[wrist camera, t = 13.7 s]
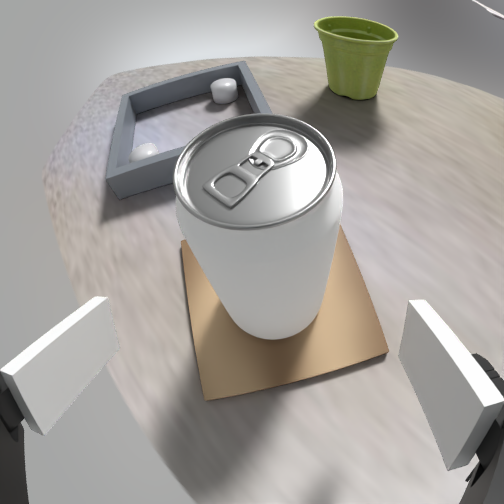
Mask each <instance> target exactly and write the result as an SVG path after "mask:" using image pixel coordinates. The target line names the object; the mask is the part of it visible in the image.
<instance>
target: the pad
mask: <svg viewBox="0 0 504 504" xmlns="http://www.w3.org/2000/svg"><path fill="white" fill-rule="evenodd" d="M181 247H182V256H183V265H184V274H185V282H186V289H187V297H188V304H189V312H190V319H191V325H192V332H193V338H194V345H195V351H196V357H197V363H198V368H199V374H200V380H201V385H202V391H203V396H204V401H208V400H214V399H220V398H226V397H231V396H236V395H241V394H246V393H251V392H255V391H260V390H264V389H269V388H273V387H277V386H281V385H285V384H289V383H293V382H297V381H301V380H304V379H308V378H311V377H315V376H319V375H322V374H325V373H329V372H332V371H335V370H338V369H342V368H345V367H348V366H351V365H354V364H357V363H360V362H363V361H366V360H369V359H372V358H374V357H377V356H380V355H383V354H385V353H388V352H389V349H388V346H387V343H386V340H385V337H384V334H383V331H382V328H381V325H380V323H379V320H378V317H377V314H376V312H375V309H374V306H373V303H372V301H371V298H370V295H369V293H368V290H367V288H366V285H365V282H364V280H363V277H362V275H361V272H360V270H359V267H358V265H357V263H356V260H355V258H354V255H353V253H352V250H351V248H350V246H349V243H348V241H347V239H346V236H345V234H344V232H343V230H342V227H341V225H340V226H339V231H338V236H337V241H336V246H335V251H334V255H333V260H332V264H331V269H330V273H329V277H328V281H327V285H326V289H325V293H324V297H323V301H322V304H321V307H320V309H319V312H318V313H317V315H316V317H315V318H314V320H313V321H312V322H311V323H310V324H309V325H308V326H307V327H306V328H305V329H304V330H302V331H301V332H299V333H297V334H295V335H293V336H290V337H287V338H283V339H275V340H270V339H262V338H258V337H255V336H253V335H250V334H249V333H247V332H245V331H244V330H242V329H241V328H240V327H239V326H238V325H237V324H236V323H235V322H234V321H233V319H232V318H231V316H230V315H229V313H228V312H227V310H226V309H225V307H224V305H223V304H222V302H221V300H220V299H219V297H218V295H217V294H216V292H215V290H214V289H213V287H212V285H211V284H210V282H209V280H208V279H207V277H206V275H205V273H204V272H203V270H202V268H201V266H200V265H199V263H198V261H197V259H196V258H195V256H194V254H193V252H192V250H191V248H190V247H189V245H188V243H187V241H186V240H182V241H181Z"/></svg>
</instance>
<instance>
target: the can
mask: <svg viewBox="0 0 504 504" xmlns="http://www.w3.org/2000/svg"><path fill="white" fill-rule="evenodd" d="M173 186H174V190H175V193H176V215H177V220H178V223H179V226H180V228H181V231H182V233H183V235H184V237H185V239H186V241H187V243H188V245H189V247H190V248H191V250H192V252H193V254H194V256H195V258H196V259H197V261H198V263H199V265H200V266H201V268H202V270H203V272H204V273H205V275H206V277H207V279H208V280H209V282H210V284H211V285H212V287H213V289H214V290H215V292H216V294H217V295H218V297H219V299H220V300H221V302H222V304H223V305H224V307H225V309H226V310H227V312H228V313H229V315H230V316H231V318H232V319H233V321H234V322H235V323H236V324H237V325H238V326H239V327H240V328H241V329H242V330H244V331H245V332H247V333H249V334H250V335H253V336H255V337H258V338H262V339H270V340H275V339H283V338H287V337H290V336H293V335H295V334H297V333H299V332H301V331H302V330H304V329H305V328H306V327H307V326H308V325H309V324H310V323H311V322H312V321H313V320H314V318H315V317H316V315H317V313H318V312H319V309H320V307H321V304H322V301H323V297H324V293H325V289H326V285H327V281H328V277H329V273H330V269H331V264H332V260H333V255H334V251H335V246H336V241H337V236H338V231H339V226H340V220H341V214H342V207H343V189H342V184H341V180H340V177H339V175H338V172H337V170H336V158H335V154H334V151H333V149H332V147H331V145H330V143H329V142H328V140H327V139H326V138H325V137H324V136H323V135H322V134H321V133H320V132H319V131H318V130H316V129H315V128H314V127H312V126H310V125H309V124H307V123H305V122H303V121H301V120H298V119H295V118H292V117H289V116H284V115H278V114H268V113H258V114H247V115H241V116H237V117H233V118H229V119H226V120H224V121H221V122H219V123H216V124H214V125H212V126H210V127H209V128H207V129H205V130H204V131H202V132H201V133H199V134H198V135H197V136H196V137H194V138H193V139H192V140H191V141H190V142H189V143H188V144H187V145H186V147H185V148H184V149H183V151H182V152H181V154H180V155H179V157H178V159H177V161H176V164H175V167H174V172H173Z"/></svg>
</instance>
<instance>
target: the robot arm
mask: <svg viewBox="0 0 504 504" xmlns="http://www.w3.org/2000/svg"><path fill="white" fill-rule="evenodd" d="M119 349H120V345H119V342H118V338H117V334H116V330H115V326H114V322H113V317H112V313H111V309H110V304H109V299H108V297H97V296H95V297H94V298H93V299H91V300H90V301H88V302H87V303H86V304H84V305H83V306H82V307H80V308H79V309H78V310H77V311H75V312H73V313H72V314H71V315H69V316H68V317H67V318H66V319H64V320H63V321H62V322H60V323H59V324H58V325H56V326H55V327H54V328H52V329H51V330H50V331H48V332H47V333H46V334H44V335H43V336H42V337H41V338H39V339H38V340H37V341H35V342H34V343H33V344H32V345H30V346H29V347H28V348H27V349H25V350H24V351H23V352H22V353H20V354H19V355H18V356H17V357H15V358H14V359H13V360H12V361H10V362H9V363H8V364H7V365H6V366H4V367H3V368H2V369H1V370H0V504H29V501H28V493H27V484H26V472H25V456H24V429H23V426H22V424H21V423H20V422H21V421H22V420H23V419H24V418H25V420H26V422H27V423H28V425H29V427H30V428H31V430H33V431H35V432H37V433H39V434H41V435H43V436H45V435H46V434H47V433H48V431H49V430H50V429H51V427H53V425H54V424H55V423H56V422H57V420H58V419H59V418H60V417H61V416H62V415H63V413H64V412H65V411H66V410H67V409H68V408H69V406H70V405H71V404H72V403H73V402H74V400H75V399H76V398H77V397H78V396H79V394H80V393H81V392H82V391H83V390H84V389H85V388H86V386H87V385H88V384H89V383H90V382H91V381H92V380H93V378H94V377H95V376H96V375H97V374H98V373H99V372H100V370H101V369H102V368H103V367H104V366H105V365H106V364H107V362H108V361H109V360H110V359H111V358H112V357H113V356H114V355H115V353H116V352H117V351H118V350H119ZM398 357H399V359H400V361H401V363H402V365H403V367H404V369H405V371H406V373H407V376H408V378H409V380H410V382H411V384H412V386H413V388H414V391H415V393H416V395H417V397H418V400H419V402H420V404H421V406H422V409H423V411H424V413H425V415H426V418H427V420H428V423H429V425H430V427H431V430H432V432H433V435H434V437H435V439H436V442H437V444H438V447H439V450H440V452H441V455H442V457H443V460H444V463H445V465H446V468H447V471H449V470H452V469H456V468H459V467H462V466H465V465H468V464H469V462H470V461H471V459H472V458H473V456H474V455H475V453H476V454H477V456H478V458H479V462H478V464H477V465H476V467H475V468H474V469H473V471H472V472H471V473H470V475H469V476H468V477H467V479H466V480H465V481H467V482H468V481H469V480H470V481H469V483H468V486H467V488H466V490H465V493H464V495H463V497H462V499H461V501H460V503H459V504H504V380H503V379H502V378H500V375H499V374H498V373H497V372H496V371H494V368H493V367H492V365H491V364H490V363H489V362H488V360H486V359H485V358H483V357H482V356H480V355H478V354H477V353H476V354H470V352H469V351H468V350H467V349H466V348H465V346H464V345H463V344H462V343H461V341H460V340H459V339H458V338H457V337H456V335H455V334H454V333H453V332H452V331H451V329H450V328H449V327H448V326H447V325H446V323H445V322H444V321H443V320H442V319H441V318H440V316H439V315H438V314H437V313H436V312H435V311H434V310H433V309H432V307H431V306H430V305H429V304H428V303H427V302H426V301H425V300H409V301H408V307H407V313H406V319H405V325H404V330H403V335H402V340H401V345H400V350H399V355H398ZM470 478H471V479H470Z"/></svg>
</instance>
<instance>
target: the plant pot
mask: <svg viewBox="0 0 504 504" xmlns="http://www.w3.org/2000/svg"><path fill="white" fill-rule="evenodd" d="M314 27H315V29H316V30H317V31H318V33H319V38H320V40H321V41H322V44H323V49H324V56H325V62H326V69H327V77H328V84H329V87H330V89H331V90H332V91H333V92H334V93H336V94H338V95H340V96H342V95H345V96H348V97H350V98H352V99H357V100H363V99H369V98H372V97H374V96H375V94H376V93H377V91H378V88H379V85H380V81H381V78H382V74H383V71H384V67H385V63H386V60H387V57H388V54H389V51H390V50H391V49H392V46H393V43H394V42H395V41H397V39H398V34H397V33H396V32H395V31H394V30H393V29H391V28H389V27H388V26H386V25H383V24H380V23H377V22H374V21H371V20H367V19H361V18H355V17H326V18H322V19H319V20H317V21H315V23H314Z"/></svg>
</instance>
